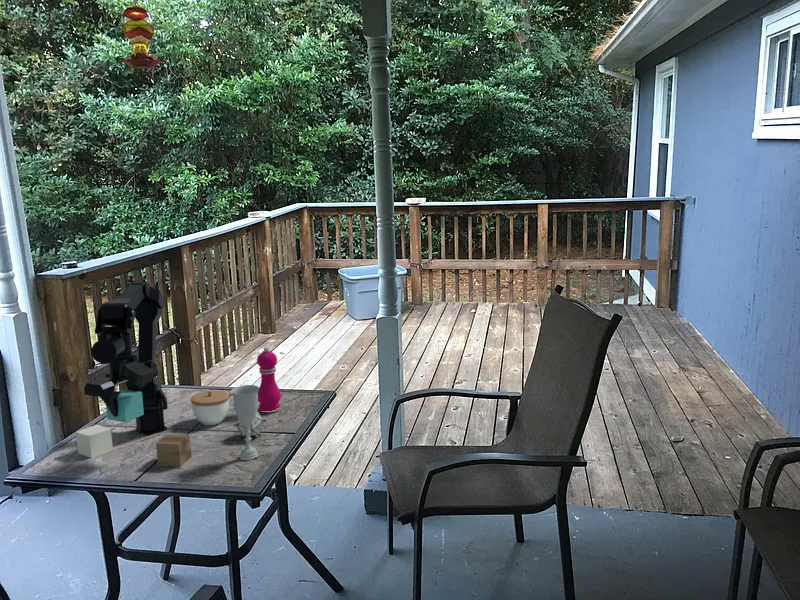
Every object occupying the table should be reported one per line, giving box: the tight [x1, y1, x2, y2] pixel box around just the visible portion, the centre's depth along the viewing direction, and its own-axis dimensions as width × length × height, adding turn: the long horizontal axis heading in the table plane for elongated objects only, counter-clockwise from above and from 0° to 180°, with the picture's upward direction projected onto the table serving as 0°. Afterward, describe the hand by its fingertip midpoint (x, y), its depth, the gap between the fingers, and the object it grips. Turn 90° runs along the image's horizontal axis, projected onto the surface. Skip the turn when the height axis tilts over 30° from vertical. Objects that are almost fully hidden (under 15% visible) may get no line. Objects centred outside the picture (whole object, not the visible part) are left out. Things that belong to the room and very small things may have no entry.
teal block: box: [105, 389, 144, 423], centre depth 166 cm, size 6×6×6 cm
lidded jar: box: [190, 389, 230, 426], centre depth 192 cm, size 11×11×9 cm
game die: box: [232, 410, 267, 440], centre depth 181 cm, size 9×8×10 cm
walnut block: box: [155, 433, 192, 468], centre depth 166 cm, size 6×6×6 cm
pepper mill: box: [256, 346, 282, 412], centre depth 200 cm, size 7×7×20 cm
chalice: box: [230, 384, 260, 460], centre depth 167 cm, size 7×7×18 cm
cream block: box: [75, 424, 114, 459], centre depth 172 cm, size 6×6×6 cm
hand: (125, 412), depth 166 cm, fingers closed on teal block, 6 cm apart
